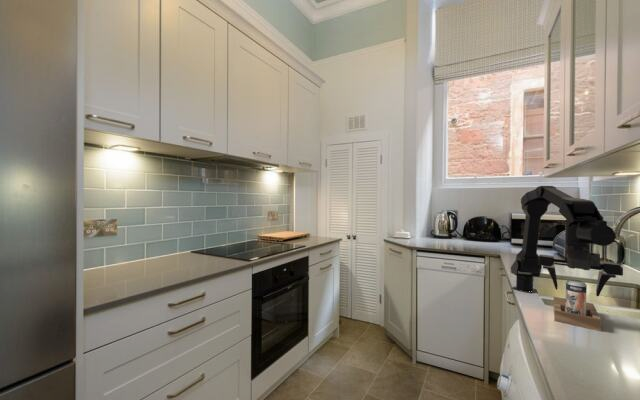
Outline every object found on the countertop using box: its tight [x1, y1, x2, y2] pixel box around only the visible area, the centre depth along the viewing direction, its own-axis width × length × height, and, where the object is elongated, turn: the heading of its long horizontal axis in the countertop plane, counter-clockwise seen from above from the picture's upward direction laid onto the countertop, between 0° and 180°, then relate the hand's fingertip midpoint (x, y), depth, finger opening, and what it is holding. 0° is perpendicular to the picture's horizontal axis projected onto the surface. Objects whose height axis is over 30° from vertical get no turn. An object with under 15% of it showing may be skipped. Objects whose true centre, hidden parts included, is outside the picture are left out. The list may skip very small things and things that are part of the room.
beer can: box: [565, 278, 588, 316], centre depth 86 cm, size 5×5×12 cm
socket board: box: [553, 296, 602, 332], centre depth 89 cm, size 18×10×3 cm, turn 141°
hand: (576, 292), depth 86 cm, fingers open, 9 cm apart
